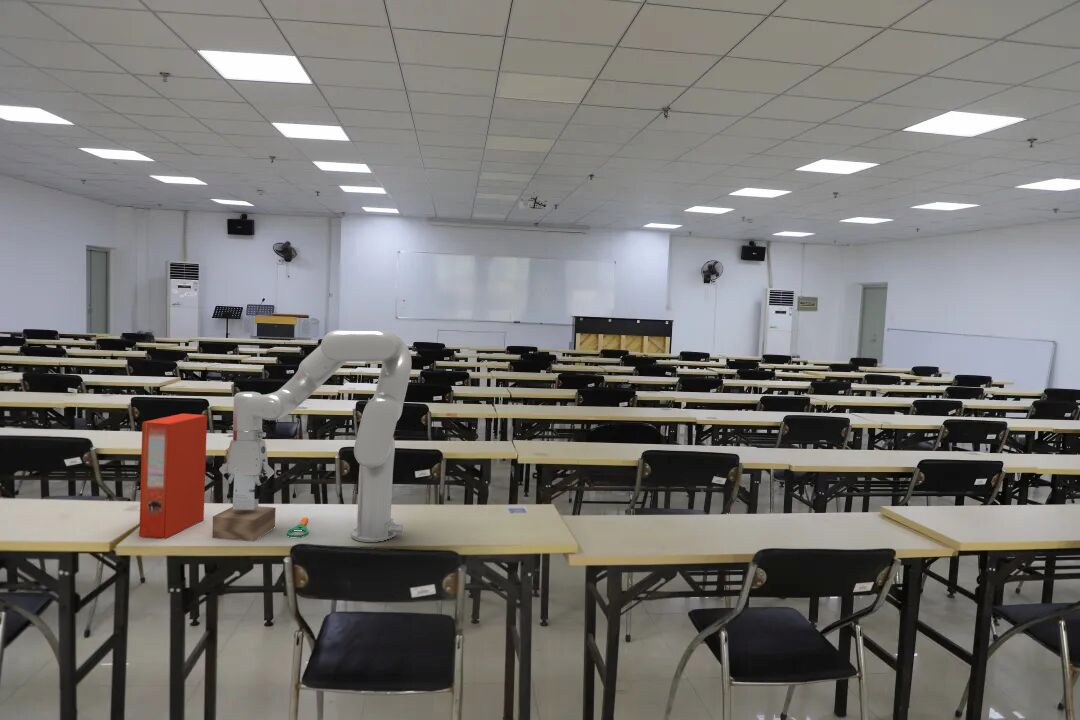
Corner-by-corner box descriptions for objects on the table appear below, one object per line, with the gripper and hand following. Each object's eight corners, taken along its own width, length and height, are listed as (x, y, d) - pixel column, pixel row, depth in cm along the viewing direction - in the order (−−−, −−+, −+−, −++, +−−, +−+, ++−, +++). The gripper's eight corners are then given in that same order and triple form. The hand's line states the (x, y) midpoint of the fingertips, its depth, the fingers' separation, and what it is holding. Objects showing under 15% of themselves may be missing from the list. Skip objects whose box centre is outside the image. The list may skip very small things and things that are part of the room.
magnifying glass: (306, 539, 182) (306, 533, 182) (283, 539, 181) (283, 533, 181) (315, 522, 197) (315, 517, 197) (294, 522, 196) (295, 517, 196)
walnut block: (274, 527, 189) (275, 507, 189) (253, 541, 177) (254, 519, 177) (236, 524, 190) (236, 504, 190) (212, 537, 178) (212, 516, 178)
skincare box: (232, 510, 181) (232, 467, 180) (237, 505, 185) (238, 464, 185) (254, 510, 182) (255, 468, 181) (259, 505, 186) (260, 464, 186)
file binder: (204, 520, 193) (207, 415, 191) (167, 539, 176) (169, 423, 174) (179, 518, 193) (181, 413, 192) (139, 537, 176) (141, 421, 174)
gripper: (283, 435, 185) (281, 495, 186) (226, 431, 187) (224, 491, 188) (270, 439, 178) (268, 502, 179) (210, 435, 179) (209, 498, 180)
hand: (246, 496), depth 183 cm, fingers closed on skincare box, 6 cm apart
